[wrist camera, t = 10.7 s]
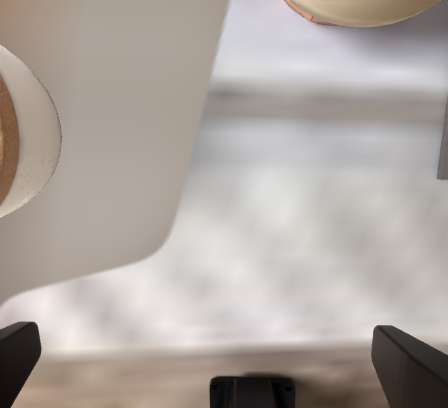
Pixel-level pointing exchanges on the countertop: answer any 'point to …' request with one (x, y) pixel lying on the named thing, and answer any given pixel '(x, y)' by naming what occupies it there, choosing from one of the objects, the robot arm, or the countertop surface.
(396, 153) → the countertop surface
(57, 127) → the lidded jar
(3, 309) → the countertop surface
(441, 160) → the mat
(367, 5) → the disc with tall peg
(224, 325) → the countertop surface
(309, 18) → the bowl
